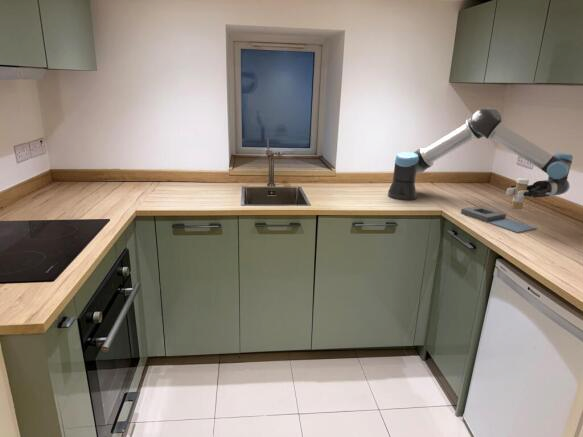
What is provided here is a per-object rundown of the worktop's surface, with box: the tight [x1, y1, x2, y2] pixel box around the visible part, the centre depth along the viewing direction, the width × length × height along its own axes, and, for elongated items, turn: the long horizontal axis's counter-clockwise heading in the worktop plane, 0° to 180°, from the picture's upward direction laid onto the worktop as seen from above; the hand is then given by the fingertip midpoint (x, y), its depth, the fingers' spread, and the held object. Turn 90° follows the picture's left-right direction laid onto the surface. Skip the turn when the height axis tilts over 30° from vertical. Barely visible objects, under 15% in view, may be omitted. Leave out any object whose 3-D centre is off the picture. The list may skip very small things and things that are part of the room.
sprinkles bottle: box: [510, 177, 530, 210], centre depth 179 cm, size 5×5×14 cm
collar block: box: [460, 205, 507, 223], centre depth 196 cm, size 14×14×2 cm
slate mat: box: [487, 218, 537, 234], centre depth 184 cm, size 14×14×1 cm
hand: (512, 193), depth 176 cm, fingers closed on sprinkles bottle, 4 cm apart
